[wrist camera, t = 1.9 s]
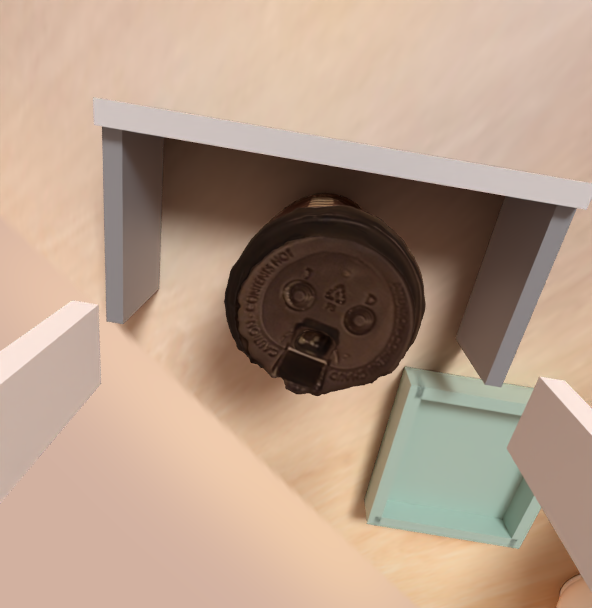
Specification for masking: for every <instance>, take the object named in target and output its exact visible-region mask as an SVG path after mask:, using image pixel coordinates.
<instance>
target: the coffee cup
mask: <svg viewBox="0 0 592 608" xmlns="http://www.w3.org/2000/svg"><path fill="white" fill-rule="evenodd" d="M224 303H225V309H226V317H227V322H228V325H229V328H230V332H231V334H232V337H233V338H234V340H235V341H236V344H237V347H238V349H239V350H240V351H243V352H244V353H245V354H246V356H247V357H249V359H250V362H251V363H254V364H258V365H259V366H260V368H264V369H265V370H266V371H267V373H268V374H269V375H270V376H271V377H272V378H277V377H281V378H282V379H283V380H284V384H285V388H286V389H288V390H290V391H291V392H293V393H295V394H305V393H310V394H312V395H315V396H320V395H321V394H327V393H329V392H333V391H338V390H343V389H346V388H350V387H353V386H360V385H365V384H369V383H373V382H374V381H375V380H377V378H379V377H380V376H386V375H387V374H390V373H392V372H393V371H394V370H395V369H396V368H397V366H398V365H399V362H400V361H401V359H403V358H404V356H405V354H406V352H407V351H408V349H409V347H410V346H411V345H412V344H413V343H414V341H415V339H416V336H417V334H418V331H419V328H420V325H421V321H422V319H423V315H424V312H425V297H424V285H423V280H422V275H421V272H420V269H419V267H418V265H417V262H416V260H415V258H414V256H413V255H412V254H411V252H410V251H409V250H408V248H407V246H406V244H405V242H404V241H403V240H402V238H401V237H399V236H398V235H397V234H396V233H395V231H393V230H392V229H391V228H390V227H389V226H387V225H386V224H385V223H384V222H383V221H382V220H381V219H379V218H378V217H375V216H373V215H371V214H369V213H367V212H365V211H362V210H361V209H360V207H359V206H358V205H357V204H356V203H354V202H353V201H352V200H350V199H347V198H345V197H342V196H339V195H335V194H316V195H312V196H309V197H305V198H302V199H300V200H298V201H296V202H294V203H292V204H291V205H290V206H288V207H286V208H285V209H284V210H283V211H281V212H280V213H279V214H278V215H276V216H275V217H274V218H273V219H272V220H271V221H270V222H269V223H267V224H266V225H265V226H264V227H263V228H262V229H261V230H260V231H259V232H258V233H257V234H256V235H255V236H254V237H253V238H252V239H251V241H250V242H249V243H248V245H247V247H246V248H245V250H244V251H243V253H242V255H241V256H240V258H239V259H238V261H237V262H236V264H235V265H234V266H233V267H232V269H231V271H230V276H229V279H228V284H227V288H226V291H225V300H224Z"/></svg>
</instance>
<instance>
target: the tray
mask: <svg viewBox="0 0 592 608" xmlns="http://www.w3.org/2000/svg"><path fill="white" fill-rule="evenodd" d="M533 389H534V388H530V387H524V386H518V385H512V384H506V383H503V384H502V387H495V386H489V385H485V384H484V383H483V381H482V379H476V378H470V377H464V376H458V375H452V374H446V373H440V372H434V371H428V370H422V369H417V368H411V367H404V370H403V374H402V377H401V380H400V384H399V387H398V390H397V393H396V397H395V400H394V403H393V406H392V410H391V413H390V416H389V420H388V423H387V426H386V429H385V433H384V436H383V439H382V443H381V446H380V449H379V452H378V456H377V459H376V462H375V465H374V469H373V472H372V475H371V479H370V482H369V485H368V488H367V492H366V495H365V498H364V503H365V511H366V520H367V524H371V525H377V526H383V527H389V528H395V529H401V530H407V531H413V532H420V533H426V534H432V535H438V536H444V537H450V538H456V539H462V540H468V541H474V542H481V543H487V544H493V545H499V546H505V547H511V548H517V549H519V548H520V546H521V544H522V542H523V541H524V539H525V537H526V535H527V533H528V531H529V530H530V528H531V526H532V524H533V522H534V520H535V518H536V517H537V515H538V513H539V511H540V509H541V506H540V504H539V503H538V501H537V499H536V498H535V496H534V494H533V492H532V491H531V489H530V487H529V486H528V484H527V482H526V481H525V479H524V477H523V476H522V474H521V472H520V470H519V469H518V467H517V465H516V464H515V462H514V460H513V459H512V457H511V455H510V453H509V452H508V450H507V446H508V444H509V442H510V439H511V437H512V435H513V433H514V431H515V429H516V426H517V424H518V422H519V420H520V418H521V416H522V413H523V411H524V409H525V407H526V405H527V402H528V400H529V398H530V396H531V394H532V392H533Z"/></svg>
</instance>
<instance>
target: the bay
mask: <svg viewBox="0 0 592 608" xmlns="http://www.w3.org/2000/svg"><path fill="white" fill-rule="evenodd" d="M93 110H94V125H97V126H102V144H103V187H104V230H105V273H106V317H107V322H113V323H119V324H124V323H125V322H126V321H127V320H128V319H129V318H130V317H131V316H132V315H133V314H134V313H135V312H136V311H137V310H138V309H139V308H140V307H141V306H142V305H143V304H144V303H145V302H146V301H147V300H148V299H149V298H150V297H151V296H152V295H153V294H154V293H155V292H156V291H157V290H158V289H159V279H160V247H161V215H162V183H163V151H164V137H167V138H173V139H179V140H185V141H190V142H196V143H202V144H208V145H214V146H219V147H225V148H231V149H237V150H243V151H248V152H254V153H260V154H266V155H272V156H277V157H283V158H289V159H295V160H301V161H306V162H312V163H318V164H324V165H330V166H335V167H341V168H347V169H353V170H359V171H365V172H370V173H376V174H382V175H388V176H394V177H399V178H405V179H411V180H417V181H423V182H428V183H434V184H440V185H446V186H452V187H457V188H463V189H469V190H475V191H481V192H486V193H492V194H498V195H504V196H505V199H504V201H503V204H502V207H501V210H500V213H499V216H498V218H497V221H496V224H495V227H494V230H493V233H492V236H491V238H490V241H489V244H488V247H487V250H486V253H485V256H484V258H483V261H482V264H481V267H480V270H479V273H478V276H477V278H476V281H475V284H474V287H473V290H472V293H471V296H470V298H469V301H468V304H467V307H466V310H465V313H464V316H463V318H462V321H461V324H460V327H459V330H458V333H457V336H456V338H455V339H456V340H457V342H458V343H459V345H460V347H461V348H462V350H463V351H464V353H465V354H466V356H467V358H468V359H469V361H470V362H471V364H472V365H473V367H474V368H475V370H476V372H477V373H478V375H479V376H480V378H481V379H482V381H483V383H484V384H485V385H489V386H495V387H502V384H503V382H504V380H505V377H506V375H507V373H508V370H509V368H510V365H511V363H512V361H513V358H514V356H515V354H516V351H517V349H518V346H519V344H520V342H521V339H522V337H523V335H524V332H525V330H526V327H527V325H528V323H529V320H530V318H531V316H532V313H533V311H534V308H535V306H536V304H537V301H538V299H539V297H540V294H541V292H542V290H543V287H544V285H545V282H546V280H547V278H548V275H549V273H550V271H551V268H552V266H553V263H554V261H555V259H556V256H557V254H558V252H559V249H560V247H561V244H562V242H563V240H564V237H565V235H566V233H567V230H568V228H569V225H570V223H571V221H572V218H573V216H574V214H575V211H576V209H577V208H579V209H585V210H587V208H588V206H589V203H590V201H591V199H592V183H588V182H582V181H577V180H571V179H565V178H559V177H554V176H548V175H542V174H536V173H530V172H525V171H519V170H513V169H507V168H501V167H496V166H490V165H484V164H478V163H473V162H467V161H461V160H455V159H449V158H444V157H438V156H432V155H426V154H420V153H415V152H409V151H403V150H397V149H392V148H386V147H380V146H374V145H368V144H363V143H357V142H351V141H345V140H339V139H334V138H328V137H322V136H316V135H311V134H305V133H299V132H293V131H287V130H282V129H276V128H270V127H264V126H258V125H253V124H247V123H241V122H235V121H230V120H224V119H218V118H212V117H206V116H201V115H195V114H189V113H183V112H177V111H172V110H166V109H160V108H154V107H149V106H143V105H137V104H131V103H125V102H120V101H114V100H108V99H102V98H95V97H93Z"/></svg>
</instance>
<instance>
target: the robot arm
mask: <svg viewBox="0 0 592 608" xmlns="http://www.w3.org/2000/svg"><path fill="white" fill-rule="evenodd" d="M100 368H101V367H100V336H99V305H97V304H91V303H85V302H78V301H71V302H69V303H68V304H66V305H65V306H64V307H62V308H61V309H59V310H58V311H57V312H55V313H54V314H52V315H51V316H50V317H48V318H47V319H45V320H44V321H42V322H41V323H40V324H38V325H37V326H36V327H34V328H33V329H31V330H30V331H29V332H27V333H25V334H24V335H23V336H21V337H20V338H19V339H17V340H16V341H14V342H13V343H11V344H10V345H9V346H7V347H6V348H5V349H3V350H2V351H0V503H1V502H2V501H3V500H4V498H5V497H6V496H7V495H8V494H9V492H10V491H11V490H12V489H13V488H14V486H15V485H16V484H17V483H18V482H19V480H20V479H21V478H22V477H23V476H24V474H25V473H26V472H27V471H28V470H29V469H30V467H31V466H32V465H33V464H34V463H35V461H36V460H37V459H38V458H39V457H40V456H41V454H42V453H43V452H44V451H45V450H46V448H47V447H48V446H49V445H50V444H51V443H52V441H53V440H54V439H55V438H56V437H57V435H58V434H59V433H60V432H61V431H62V429H63V428H64V427H65V426H66V425H67V423H68V422H69V421H70V420H71V419H72V417H73V416H74V415H75V414H76V413H77V412H78V410H79V409H80V408H81V407H82V406H83V404H84V403H85V402H86V401H87V400H88V399H89V397H90V396H91V395H92V394H93V393H94V391H95V390H96V389H97V388H98V387H99V385H100V384H101V369H100ZM507 450H508V452H509V453H510V455H511V457H512V459H513V460H514V462H515V464H516V465H517V467H518V469H519V470H520V472H521V474H522V476H523V477H524V479H525V481H526V482H527V484H528V486H529V487H530V489H531V491H532V492H533V494H534V496H535V498H536V499H537V501H538V503H539V504H540V506H541V508H542V509H543V511H544V513H545V515H546V516H547V518H548V520H549V521H550V523H551V525H552V526H553V528H554V530H555V531H556V533H557V535H558V537H559V538H560V540H561V542H562V543H563V545H564V547H565V548H566V550H567V552H568V554H569V555H570V557H571V559H572V560H573V562H574V564H575V565H576V567H577V569H578V570H579V572H580V574H581V576H582V577H583V579H584V581H585V582H586V584H587V586H588V587H589V589H590V591H591V593H592V408H591V407H590V406H589V405H588V404H587V403H586V402H585V401H584V400H583V399H582V398H581V397H580V396H579V395H578V394H577V393H576V392H575V391H574V390H573V389H572V388H571V387H570V386H569V385H568V384H567V383H566V382H565V381H563V380H557V379H551V378H545V377H539V379H538V381H537V383H536V385H535V387H534V389H533V392H532V394H531V396H530V398H529V400H528V402H527V405H526V407H525V409H524V411H523V413H522V416H521V418H520V420H519V422H518V424H517V426H516V429H515V431H514V433H513V435H512V437H511V439H510V442H509V444H508V446H507Z"/></svg>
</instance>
